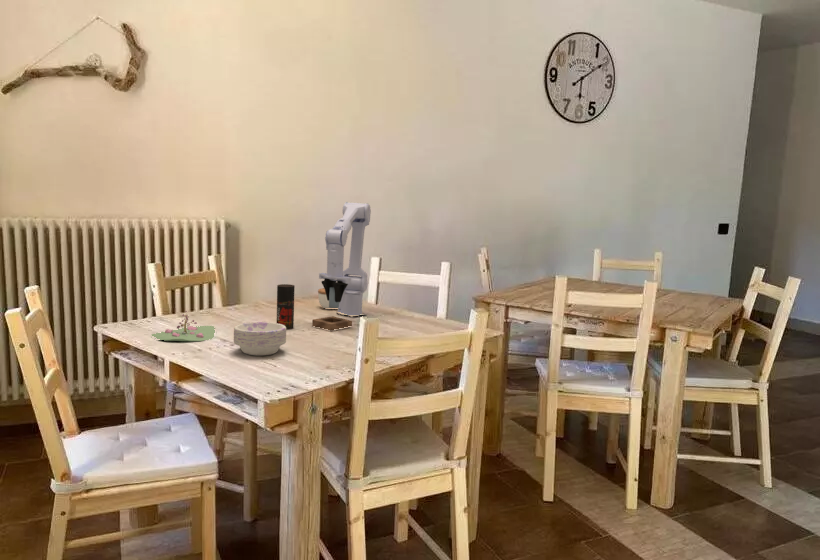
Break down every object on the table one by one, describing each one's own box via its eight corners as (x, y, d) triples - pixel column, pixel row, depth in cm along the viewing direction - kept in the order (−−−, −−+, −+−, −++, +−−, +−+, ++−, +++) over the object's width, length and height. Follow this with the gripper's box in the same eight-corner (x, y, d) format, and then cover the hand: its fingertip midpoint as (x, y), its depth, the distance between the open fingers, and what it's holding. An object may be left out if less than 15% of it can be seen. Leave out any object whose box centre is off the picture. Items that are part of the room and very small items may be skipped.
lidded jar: (319, 311, 254) (319, 288, 253) (316, 306, 265) (316, 283, 263) (345, 311, 257) (346, 288, 256) (341, 306, 267) (342, 284, 266)
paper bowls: (264, 343, 200) (264, 318, 198) (296, 352, 190) (296, 327, 189) (222, 351, 188) (223, 325, 187) (254, 361, 178) (255, 334, 177)
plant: (171, 325, 219) (170, 300, 218) (230, 328, 220) (230, 302, 218) (141, 343, 195) (140, 314, 193) (208, 346, 195) (208, 317, 194)
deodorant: (272, 328, 221) (273, 285, 219) (283, 325, 226) (284, 283, 224) (286, 330, 218) (287, 287, 216) (297, 327, 223) (298, 285, 221)
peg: (326, 306, 226) (327, 287, 225) (334, 305, 229) (335, 286, 228) (333, 308, 224) (334, 288, 223) (341, 307, 226) (341, 288, 225)
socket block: (312, 326, 226) (312, 319, 226) (332, 322, 234) (333, 316, 233) (331, 331, 220) (331, 324, 220) (351, 327, 227) (352, 320, 227)
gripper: (313, 261, 225) (311, 299, 227) (341, 266, 216) (339, 305, 218) (327, 260, 231) (326, 297, 233) (355, 265, 221) (354, 303, 223)
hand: (334, 301), depth 226 cm, fingers closed on peg, 4 cm apart
